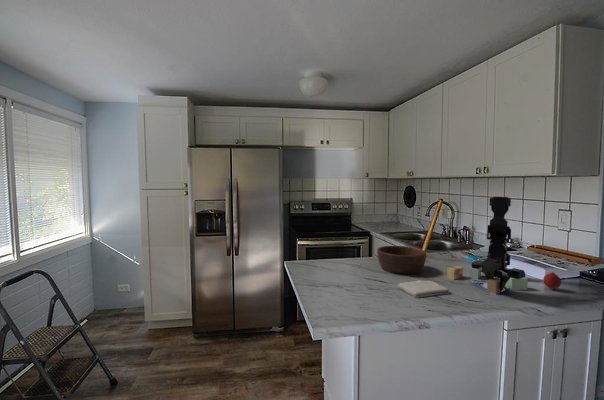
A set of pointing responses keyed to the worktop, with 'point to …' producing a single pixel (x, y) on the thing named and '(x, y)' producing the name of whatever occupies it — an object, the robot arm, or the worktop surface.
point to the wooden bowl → (401, 259)
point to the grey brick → (475, 273)
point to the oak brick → (455, 272)
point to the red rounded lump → (552, 280)
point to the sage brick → (517, 283)
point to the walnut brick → (493, 285)
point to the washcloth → (422, 288)
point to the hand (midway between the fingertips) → (496, 289)
